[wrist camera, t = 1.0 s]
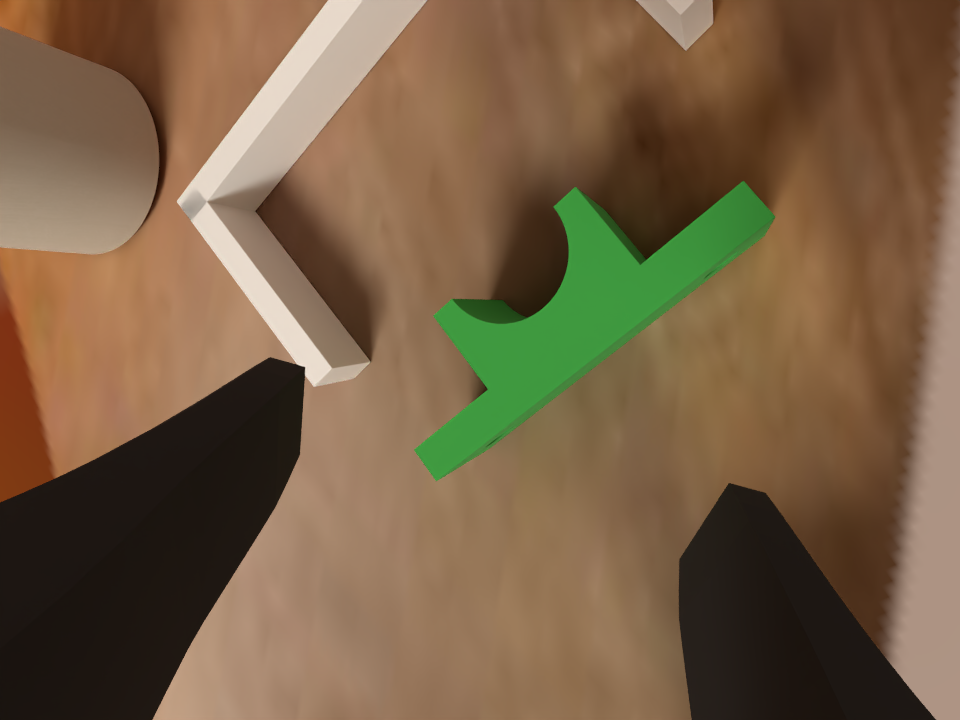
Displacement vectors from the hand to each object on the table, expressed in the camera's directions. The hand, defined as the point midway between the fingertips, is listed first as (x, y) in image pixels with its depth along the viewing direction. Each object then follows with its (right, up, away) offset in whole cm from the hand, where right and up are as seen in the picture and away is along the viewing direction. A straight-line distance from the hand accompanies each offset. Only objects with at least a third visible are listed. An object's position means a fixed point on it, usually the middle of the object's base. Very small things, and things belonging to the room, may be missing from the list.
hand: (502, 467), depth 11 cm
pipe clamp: (+3, +4, +10) cm, 11 cm away
